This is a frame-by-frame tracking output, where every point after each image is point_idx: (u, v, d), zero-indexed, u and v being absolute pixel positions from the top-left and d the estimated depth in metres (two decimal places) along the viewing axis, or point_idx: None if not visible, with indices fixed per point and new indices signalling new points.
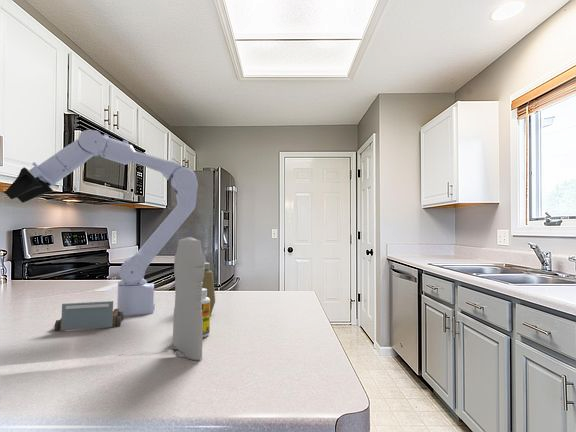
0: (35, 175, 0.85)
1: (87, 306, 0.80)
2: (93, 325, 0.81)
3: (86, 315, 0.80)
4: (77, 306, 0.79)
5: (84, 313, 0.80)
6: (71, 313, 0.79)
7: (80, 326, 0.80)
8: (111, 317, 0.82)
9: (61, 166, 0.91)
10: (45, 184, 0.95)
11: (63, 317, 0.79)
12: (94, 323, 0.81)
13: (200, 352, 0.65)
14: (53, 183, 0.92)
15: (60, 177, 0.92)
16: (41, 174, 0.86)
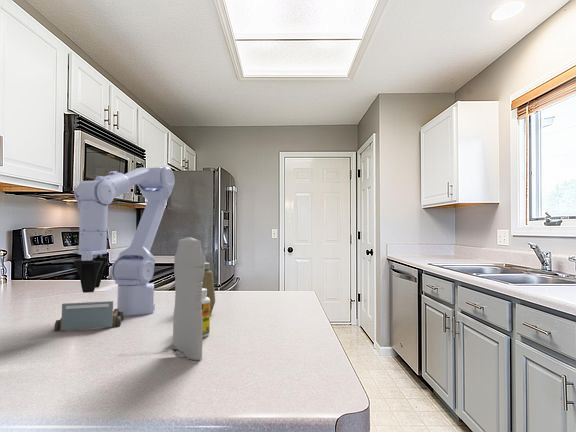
0: (90, 258, 0.78)
1: (87, 306, 0.80)
2: (93, 325, 0.81)
3: (86, 315, 0.80)
4: (77, 306, 0.79)
5: (84, 313, 0.80)
6: (71, 313, 0.79)
7: (80, 326, 0.80)
8: (111, 317, 0.82)
9: (96, 233, 0.83)
10: (98, 258, 0.88)
11: (63, 317, 0.79)
12: (94, 323, 0.81)
13: (200, 352, 0.65)
14: (105, 251, 0.85)
15: (105, 242, 0.85)
16: (93, 253, 0.79)
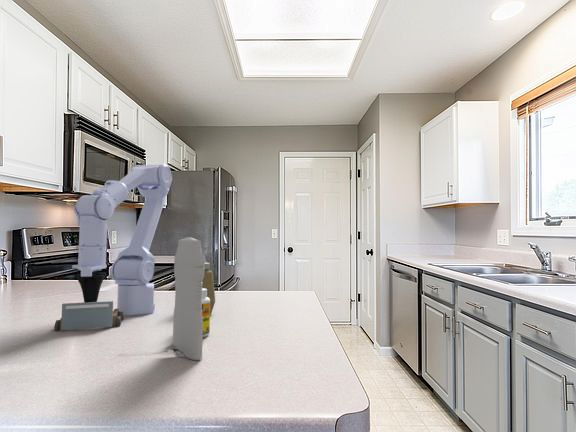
0: (90, 274, 0.78)
1: (87, 306, 0.80)
2: (93, 325, 0.81)
3: (86, 315, 0.80)
4: (77, 306, 0.79)
5: (84, 313, 0.80)
6: (71, 313, 0.79)
7: (80, 326, 0.80)
8: (111, 317, 0.82)
9: (96, 248, 0.83)
10: (95, 274, 0.85)
11: (63, 317, 0.79)
12: (94, 323, 0.81)
13: (200, 352, 0.65)
14: (105, 266, 0.84)
15: (104, 257, 0.84)
16: (92, 269, 0.79)
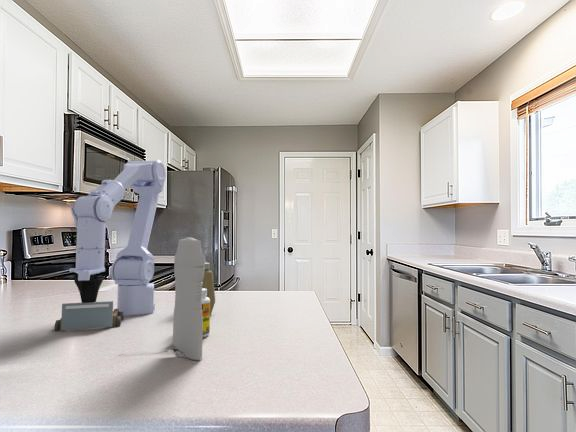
0: (87, 278, 0.75)
1: (87, 306, 0.80)
2: (93, 325, 0.81)
3: (86, 315, 0.80)
4: (77, 306, 0.79)
5: (84, 313, 0.80)
6: (71, 313, 0.79)
7: (80, 326, 0.80)
8: (111, 317, 0.82)
9: (94, 251, 0.80)
10: None
11: (63, 317, 0.79)
12: (94, 323, 0.81)
13: (200, 352, 0.65)
14: (103, 269, 0.82)
15: (102, 260, 0.82)
16: (90, 272, 0.76)
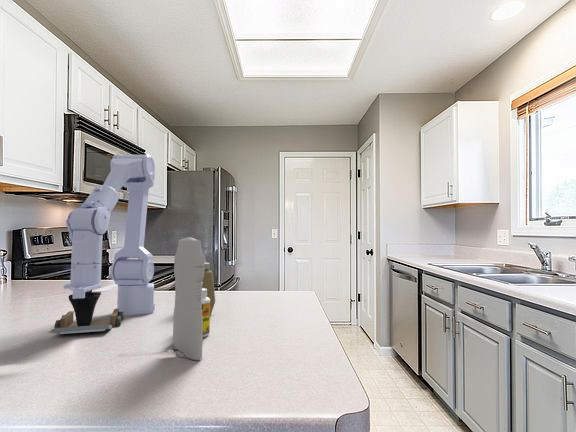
0: (82, 296, 0.71)
1: None
2: None
3: None
4: (72, 332, 0.75)
5: None
6: None
7: None
8: None
9: (90, 266, 0.76)
10: None
11: None
12: None
13: (200, 352, 0.65)
14: (99, 285, 0.77)
15: (99, 275, 0.78)
16: (85, 290, 0.72)
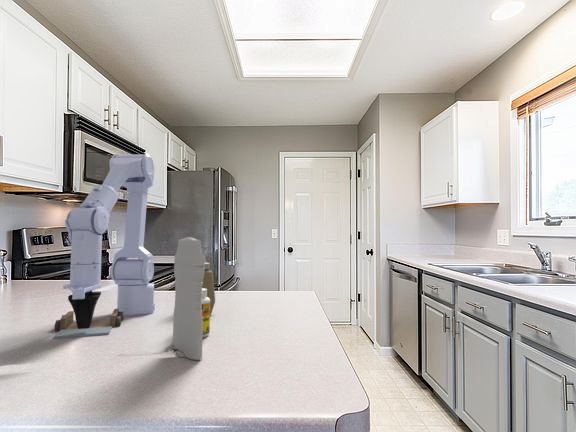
0: (82, 296, 0.70)
1: None
2: None
3: None
4: None
5: None
6: None
7: None
8: None
9: (89, 266, 0.75)
10: (88, 294, 0.77)
11: None
12: None
13: (200, 352, 0.65)
14: (99, 285, 0.77)
15: (99, 275, 0.77)
16: (85, 290, 0.71)
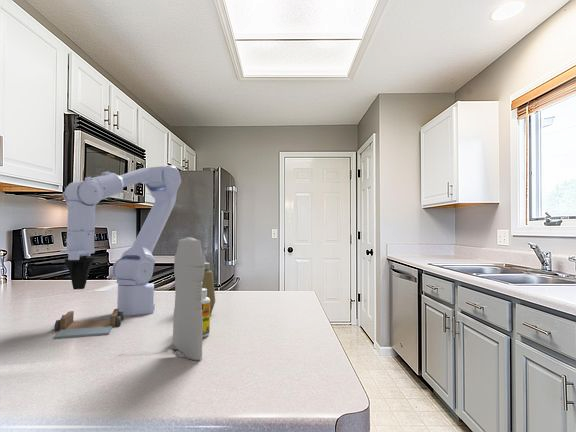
0: (77, 257, 0.79)
1: None
2: None
3: None
4: None
5: None
6: None
7: None
8: None
9: (84, 233, 0.84)
10: (83, 259, 0.86)
11: None
12: None
13: (200, 352, 0.65)
14: (93, 251, 0.86)
15: (92, 242, 0.86)
16: (80, 253, 0.80)
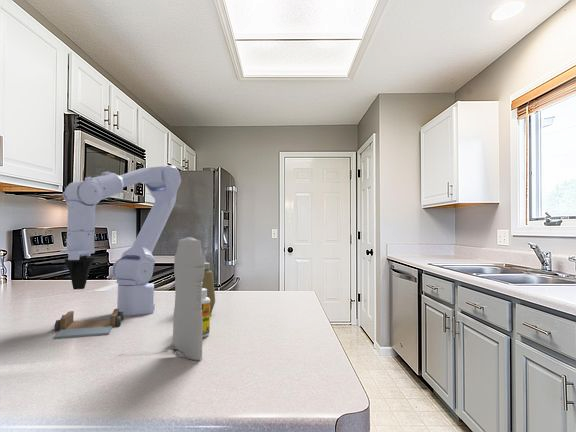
0: (77, 257, 0.79)
1: None
2: None
3: None
4: None
5: None
6: None
7: None
8: None
9: (84, 233, 0.84)
10: (83, 259, 0.86)
11: None
12: None
13: (200, 352, 0.65)
14: (93, 251, 0.86)
15: (92, 242, 0.86)
16: (80, 253, 0.80)
